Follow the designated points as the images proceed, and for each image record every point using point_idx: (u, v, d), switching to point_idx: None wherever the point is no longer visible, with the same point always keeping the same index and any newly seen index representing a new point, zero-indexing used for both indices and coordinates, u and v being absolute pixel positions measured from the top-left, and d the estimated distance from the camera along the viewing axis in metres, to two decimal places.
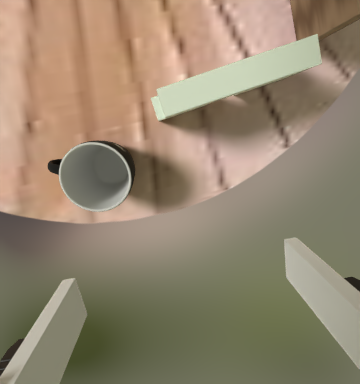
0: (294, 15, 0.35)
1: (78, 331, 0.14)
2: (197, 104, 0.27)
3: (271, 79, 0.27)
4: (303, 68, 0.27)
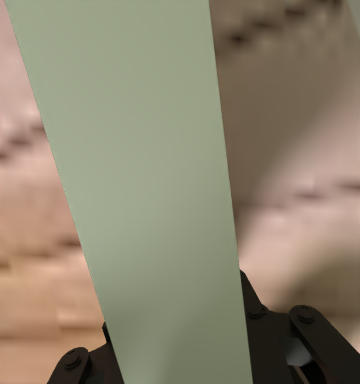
0: None
1: None
2: None
3: (216, 140, 0.04)
4: None
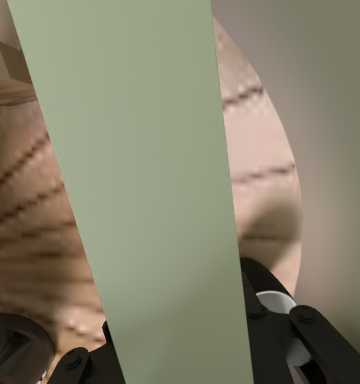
0: None
1: None
2: None
3: (218, 140, 0.04)
4: None
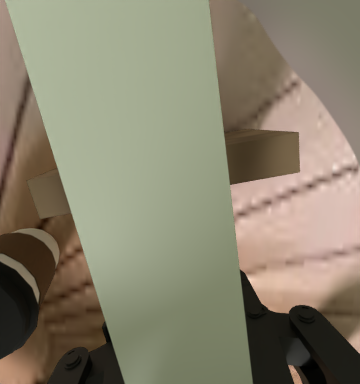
0: None
1: None
2: None
3: (216, 138, 0.04)
4: None
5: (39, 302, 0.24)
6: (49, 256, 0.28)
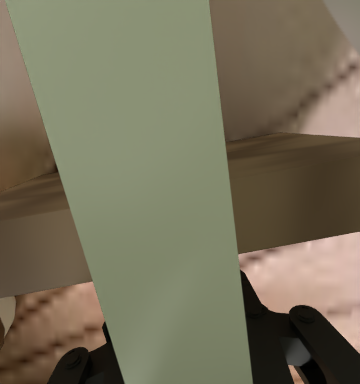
0: None
1: None
2: None
3: (216, 137, 0.04)
4: None
5: None
6: None
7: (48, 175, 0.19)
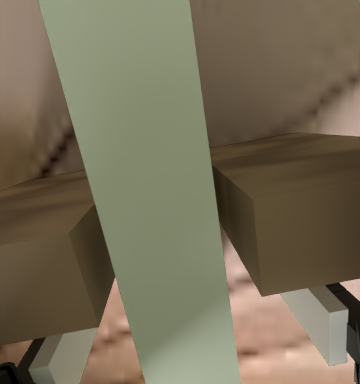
0: None
1: None
2: None
3: (202, 141, 0.06)
4: None
5: None
6: None
7: (33, 181, 0.17)
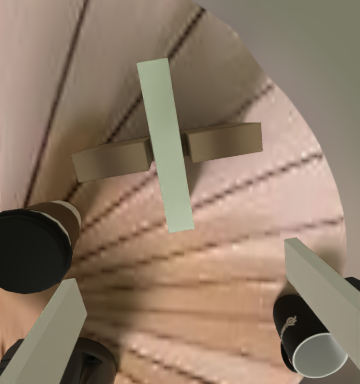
0: None
1: (78, 331, 0.14)
2: (188, 198, 0.27)
3: (175, 119, 0.25)
4: (169, 81, 0.24)
5: None
6: (75, 220, 0.35)
7: None
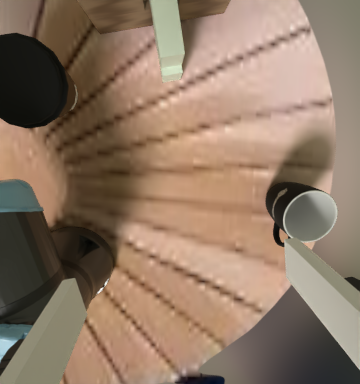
0: (197, 16, 0.39)
1: (78, 331, 0.14)
2: (178, 18, 0.28)
3: None
4: None
5: (67, 97, 0.33)
6: (72, 80, 0.37)
7: None
